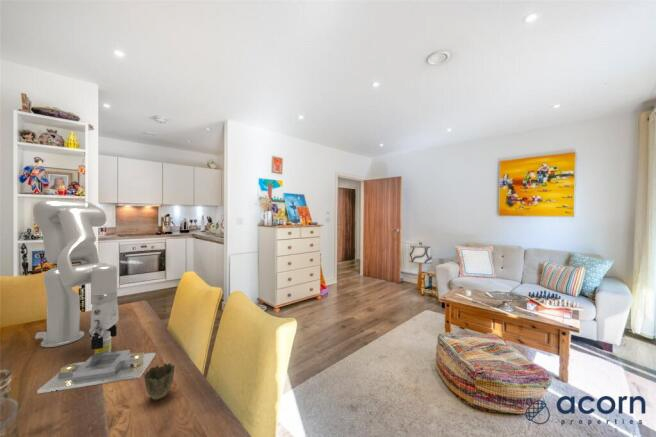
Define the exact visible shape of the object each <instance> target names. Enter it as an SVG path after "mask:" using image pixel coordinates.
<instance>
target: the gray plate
mask: <svg viewBox="0 0 656 437" xmlns="http://www.w3.org/2000/svg"><path fill="white" fill-rule="evenodd" d="M155 356H156V352H148V353H145V352H144V351H143V352H136V353H131V349H126V350H125V349H124V350H117V351H112V352H108V353H100V354H95V353H94V354H92V355H91V356H90V357H89V358H88V359H87V360H85V361H82V362H81V361H80V362H73V363H68V364H65V365H63V366H62V367H60V371H59V372H58V373H57V374H55V375H54V376H53V377H52V378H50V380H48V381H46V383H45V384H43V385H42V386H41V387H40V388H38V389H37V393H36V394H37V395H38V394H46V393H50V392H51V391H52V392H57V391H56V390H58V391H64V390H69V389H70V390H71V389H77V388H83V387H89V386H96V385H101V384H107V383H114V382H121V381H126V380H128V381H129V380H132V379H133V380H134V379H140V378H142V376H143V375H144V374H145V372H146V371H147V370H146V369H147V368H148V367H149V366H150V364H151V363H152V361H153V359H154V358H155Z"/></svg>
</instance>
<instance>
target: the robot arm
mask: <svg viewBox="0 0 656 437" xmlns="http://www.w3.org/2000/svg"><path fill="white" fill-rule="evenodd" d="M32 210H33V211H32V215H33V216H32V217H33V219H34V222H35V223H36V226H37V227H38V229H39V230H40V233H41V237H42V241H43V242H42V243H43V249H44V254H45V259H46V261H47V262H48V263H49V264H54V265H55V264H56V267H52V268H50V269H48V270H47V271H46V272H45V273H44V274H43V284H44V288H45V292H46V331H40V332H39V331H38V332H36V334H35V336H34V339H35V340H38V339H39V340H40V339H42V340H41V342H40V346H41V347H43V348H54V347H60V346H61V347H62V346H65V345H68V344H71V343H74V342H76V341H79V340H80V339H82V338H83V337H84V336H85V331H83V330H80V312H81V311H80V309H81V308H80V307H81V306H80V302H81V301H80V294H79V293H78V292H76V291H75V290H74V289H73V288H74V287H79V286H80V287H81V286H83V285H84V286H85V285H89V284H90V305H92V306H91V312H90V313H91V314H90V328H89V330H88V333H89V337H90V340H91V345H90V347H91V350H95V349H100V348H102V347H103V337H102V334H103V331H110V336H111V337H112V338H113V337H116V336H117V334H118V333H117V328H118V327H117V325H118V322H119V321H120V315H119V314H120V313H119V303H118V267H117V266H116V265H115V264H108V263H106V262H100V260H99V254H98V249H97V246H96V244H95V242H96V240H97V239H96V234H95V231H94V229H93V228H95V227H99V228H100V227H102V226H104V225H105V224H106V222H107V215H106V213H105V211H104V209H102V208H101V207H100V206H97V205H95V204H93V203H92V202H88V201H82V200H70V199H69V200H68V199H67V200H66V199H64V200H63V199H44V200H40V201H37V202H36V203H35V204H34V206H33V209H32ZM77 262H80V263H77ZM72 263H75V264H72ZM99 332H100V333H99ZM98 333H99V334H98Z"/></svg>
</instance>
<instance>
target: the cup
mask: <svg viewBox="0 0 656 437" xmlns="http://www.w3.org/2000/svg"><path fill="white" fill-rule="evenodd" d="M145 372H146V373H143V375H144V376H143V377H144V385H145V390H146V393H147V394H148V395H149V396H150V397H151V399H152V400H153V401H159V400H162V399H164V398H165V397H166V396H167V394H168V391H169V390H170V388H171V386H172V385H173V380H174V374H175V365H174V364H172V363H171V362H170V363H168V364H167V363H166V362H165V363H164V364H163V365H161V366H159V365H158V364H156V366H155V367H154V366H151V367H150V369H149V370H145Z"/></svg>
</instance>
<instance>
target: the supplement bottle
mask: <svg viewBox="0 0 656 437" xmlns="http://www.w3.org/2000/svg"><path fill="white" fill-rule="evenodd" d="M97 333H98V334H99V333H100V331H99V332H97ZM102 337H103V347H102V348H100V349H94V354H100V353H108V352H113V351H112V350H113V349H112V348H113V347H112V344H113V342H112V339H113V337H111V336H110V331H106V330H104V331H103V334H102Z"/></svg>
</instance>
